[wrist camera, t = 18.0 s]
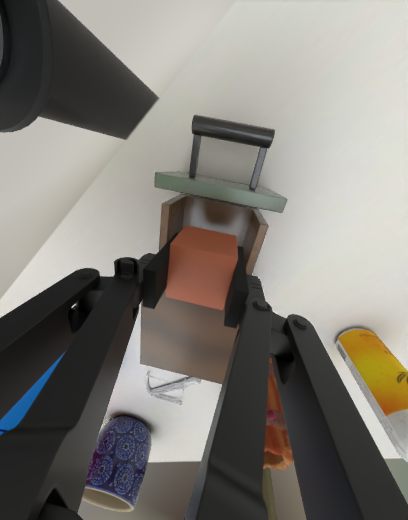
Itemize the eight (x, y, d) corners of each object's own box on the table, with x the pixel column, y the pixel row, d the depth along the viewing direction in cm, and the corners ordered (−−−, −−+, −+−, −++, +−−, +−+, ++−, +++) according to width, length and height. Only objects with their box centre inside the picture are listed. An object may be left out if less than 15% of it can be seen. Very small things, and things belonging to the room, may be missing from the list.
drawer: (183, 122, 20) (157, 99, 13) (285, 141, 20) (314, 127, 13) (169, 265, 29) (149, 295, 22) (241, 281, 28) (243, 317, 21)
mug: (242, 377, 40) (247, 482, 27) (227, 353, 37) (224, 456, 24) (314, 366, 35) (363, 485, 22) (303, 337, 33) (351, 453, 19)
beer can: (376, 347, 31) (481, 479, 18) (336, 353, 33) (405, 476, 20) (373, 322, 29) (490, 450, 16) (330, 329, 31) (404, 450, 18)
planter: (96, 413, 58) (56, 485, 45) (134, 406, 52) (101, 486, 39) (129, 439, 63) (101, 510, 50) (167, 435, 58) (147, 514, 45)
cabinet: (168, 247, 28) (141, 281, 20) (249, 265, 28) (256, 308, 19) (162, 316, 35) (140, 363, 27) (227, 331, 35) (225, 385, 26)
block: (186, 224, 16) (170, 243, 12) (236, 235, 15) (238, 258, 11) (180, 268, 18) (165, 297, 14) (225, 279, 17) (222, 310, 13)
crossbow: (168, 400, 50) (165, 409, 48) (135, 373, 46) (131, 381, 45) (215, 391, 43) (214, 401, 41) (182, 358, 40) (179, 368, 38)
